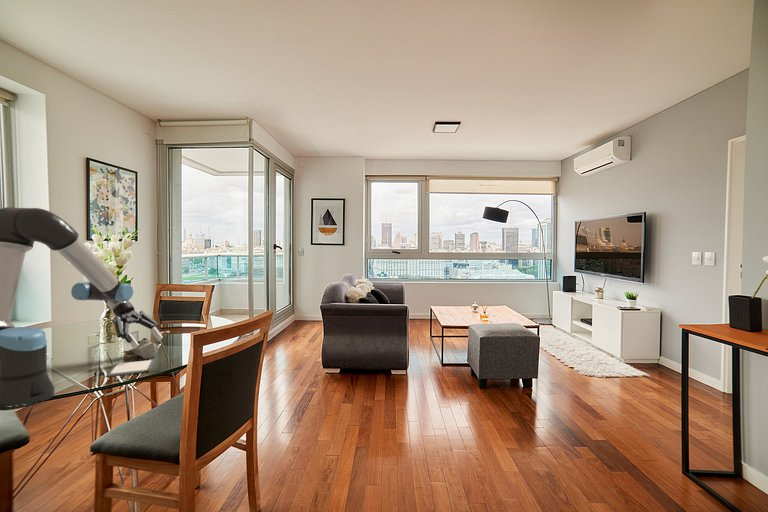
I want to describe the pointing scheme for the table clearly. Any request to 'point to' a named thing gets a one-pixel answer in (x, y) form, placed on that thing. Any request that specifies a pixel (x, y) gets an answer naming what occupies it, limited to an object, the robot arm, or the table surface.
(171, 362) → the table surface
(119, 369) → the linen sheet mat
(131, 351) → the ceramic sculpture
